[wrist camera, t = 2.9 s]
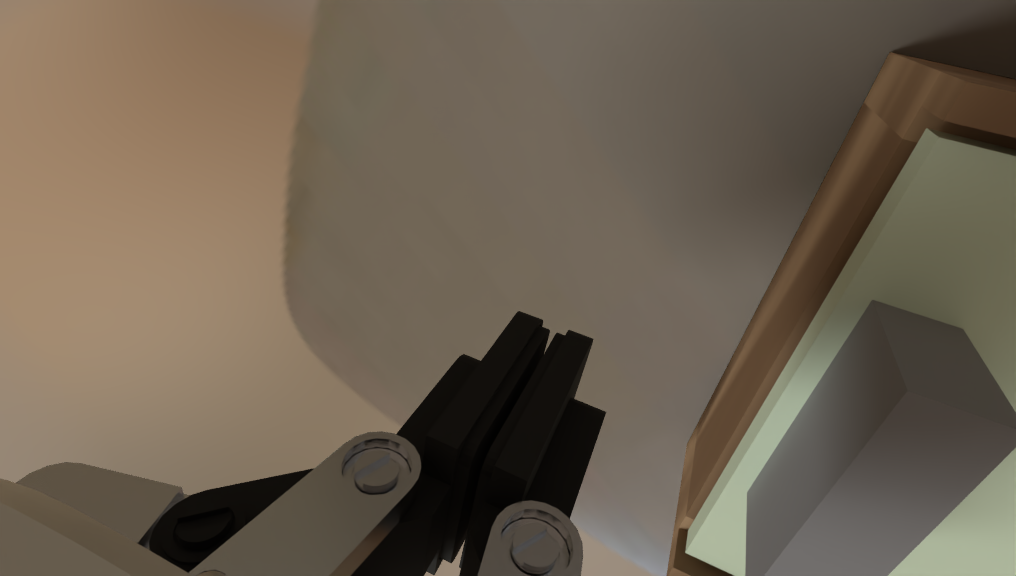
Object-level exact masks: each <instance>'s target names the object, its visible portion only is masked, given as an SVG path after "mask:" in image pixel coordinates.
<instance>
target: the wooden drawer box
mask: <svg viewBox="0 0 1016 576" xmlns="http://www.w3.org/2000/svg"><path fill="white" fill-rule="evenodd" d="M926 128H928V129H933V130H937V131H941V132H945V133H949V134H953V135H957V136H961V137H965V138H969V139H973V140H977V141H981V142H985V143H990V144H994V145H998V146H1002V147H1006V148H1010V149H1014V150H1016V79H1012V78H1007V77H1003V76H998V75H993V74H989V73H984V72H980V71H975V70H970V69H966V68H961V67H957V66H952V65H947V64H943V63H938V62H934V61H929V60H924V59H920V58H915V57H911V56H906V55H902V54H897V53H892V52H889V54H888V56H887V58H886V60H885V62H884V64H883V66H882V68H881V70H880V72H879V74H878V76H877V78H876V80H875V81H874V83H873V85H872V87H871V89H870V91H869V93H868V95H867V97H866V99H865V101H864V103H863V105H862V107H861V109H860V111H859V112H858V114H857V116H856V118H855V120H854V122H853V124H852V126H851V128H850V130H849V132H848V134H847V136H846V138H845V140H844V141H843V143H842V145H841V147H840V149H839V151H838V153H837V155H836V157H835V159H834V161H833V163H832V165H831V167H830V169H829V171H828V172H827V174H826V176H825V178H824V180H823V182H822V184H821V186H820V188H819V190H818V192H817V194H816V196H815V198H814V200H813V202H812V203H811V205H810V207H809V209H808V211H807V213H806V215H805V217H804V219H803V221H802V223H801V225H800V227H799V229H798V231H797V232H796V234H795V236H794V238H793V240H792V242H791V244H790V246H789V248H788V250H787V252H786V254H785V256H784V258H783V260H782V262H781V263H780V265H779V267H778V269H777V271H776V273H775V275H774V277H773V279H772V281H771V283H770V285H769V287H768V289H767V291H766V292H765V294H764V296H763V298H762V300H761V302H760V304H759V306H758V308H757V310H756V312H755V314H754V316H753V318H752V320H751V322H750V323H749V325H748V327H747V329H746V331H745V333H744V335H743V337H742V339H741V341H740V343H739V345H738V347H737V349H736V351H735V352H734V354H733V356H732V358H731V360H730V362H729V364H728V366H727V368H726V370H725V372H724V374H723V376H722V378H721V380H720V382H719V383H718V385H717V387H716V389H715V391H714V393H713V395H712V397H711V399H710V401H709V403H708V405H707V407H706V409H705V411H704V412H703V414H702V416H701V418H700V420H699V422H698V424H697V426H696V428H695V430H694V432H693V434H692V436H691V438H690V440H689V442H688V443H687V448H686V455H685V461H684V468H683V474H682V480H681V487H680V493H679V500H678V506H677V513H676V519H675V525H674V532H673V538H672V545H671V551H670V558H669V564H668V570H667V576H734V575H732V574H730V573H728V572H726V571H723V570H721V569H719V568H717V567H715V566H713V565H710V564H708V563H706V562H704V561H702V560H700V559H698V558H695V557H693V556H691V555H689V554H687V553H685V551H686V543H687V535H688V530H689V528H690V526H691V525H692V523H693V521H694V520H695V518H696V516H697V514H698V513H699V511H700V509H701V508H702V506H703V504H704V503H705V501H706V499H707V498H708V496H709V494H710V493H711V491H712V489H713V487H714V486H715V484H716V482H717V481H718V479H719V477H720V476H721V474H722V472H723V471H724V469H725V467H726V465H727V464H728V462H729V460H730V459H731V457H732V455H733V454H734V452H735V450H736V449H737V447H738V445H739V444H740V442H741V440H742V438H743V437H744V435H745V433H746V432H747V430H748V428H749V427H750V425H751V423H752V422H753V420H754V418H755V417H756V415H757V413H758V411H759V410H760V408H761V406H762V405H763V403H764V401H765V400H766V398H767V396H768V395H769V393H770V391H771V390H772V388H773V386H774V384H775V383H776V381H777V379H778V378H779V376H780V374H781V373H782V371H783V369H784V368H785V366H786V364H787V363H788V361H789V359H790V357H791V356H792V354H793V352H794V351H795V349H796V347H797V346H798V344H799V342H800V341H801V339H802V337H803V336H804V334H805V332H806V330H807V329H808V327H809V325H810V324H811V322H812V320H813V319H814V317H815V315H816V314H817V312H818V310H819V309H820V307H821V305H822V303H823V302H824V300H825V298H826V297H827V295H828V293H829V292H830V290H831V288H832V287H833V285H834V283H835V282H836V280H837V278H838V276H839V275H840V273H841V271H842V270H843V268H844V266H845V265H846V263H847V261H848V260H849V258H850V256H851V255H852V253H853V251H854V249H855V248H856V246H857V244H858V243H859V241H860V239H861V238H862V236H863V234H864V233H865V231H866V229H867V228H868V226H869V224H870V222H871V221H872V219H873V217H874V216H875V214H876V212H877V211H878V209H879V207H880V206H881V204H882V202H883V200H884V199H885V197H886V195H887V194H888V192H889V190H890V189H891V187H892V185H893V184H894V182H895V180H896V179H897V177H898V175H899V173H900V172H901V170H902V168H903V167H904V165H905V163H906V162H907V160H908V158H909V157H910V155H911V153H912V152H913V150H914V148H915V146H916V145H917V143H918V141H919V140H920V138H921V136H922V135H923V133H924V131H925V130H926Z"/></svg>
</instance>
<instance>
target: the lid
mask: <svg viewBox="0 0 1016 576" xmlns="http://www.w3.org/2000/svg"><path fill="white" fill-rule="evenodd" d="M685 553H687V554H689V555H691V556H693V557H695V558H698V559H700V560H702V561H704V562H706V563H708V564H710V565H713V566H715V567H717V568H719V569H721V570H723V571H726V572H728V573H730V574H732V575H734V576H1016V150H1014V149H1010V148H1006V147H1002V146H998V145H994V144H990V143H985V142H981V141H977V140H973V139H969V138H965V137H961V136H957V135H953V134H949V133H945V132H941V131H937V130H933V129H928V128H926V130H925V131H924V133H923V135H922V136H921V138H920V140H919V141H918V143H917V145H916V146H915V148H914V150H913V152H912V153H911V155H910V157H909V158H908V160H907V162H906V163H905V165H904V167H903V168H902V170H901V172H900V173H899V175H898V177H897V179H896V180H895V182H894V184H893V185H892V187H891V189H890V190H889V192H888V194H887V195H886V197H885V199H884V200H883V202H882V204H881V206H880V207H879V209H878V211H877V212H876V214H875V216H874V217H873V219H872V221H871V222H870V224H869V226H868V228H867V229H866V231H865V233H864V234H863V236H862V238H861V239H860V241H859V243H858V244H857V246H856V248H855V249H854V251H853V253H852V255H851V256H850V258H849V260H848V261H847V263H846V265H845V266H844V268H843V270H842V271H841V273H840V275H839V276H838V278H837V280H836V282H835V283H834V285H833V287H832V288H831V290H830V292H829V293H828V295H827V297H826V298H825V300H824V302H823V303H822V305H821V307H820V309H819V310H818V312H817V314H816V315H815V317H814V319H813V320H812V322H811V324H810V325H809V327H808V329H807V330H806V332H805V334H804V336H803V337H802V339H801V341H800V342H799V344H798V346H797V347H796V349H795V351H794V352H793V354H792V356H791V357H790V359H789V361H788V363H787V364H786V366H785V368H784V369H783V371H782V373H781V374H780V376H779V378H778V379H777V381H776V383H775V384H774V386H773V388H772V390H771V391H770V393H769V395H768V396H767V398H766V400H765V401H764V403H763V405H762V406H761V408H760V410H759V411H758V413H757V415H756V417H755V418H754V420H753V422H752V423H751V425H750V427H749V428H748V430H747V432H746V433H745V435H744V437H743V438H742V440H741V442H740V444H739V445H738V447H737V449H736V450H735V452H734V454H733V455H732V457H731V459H730V460H729V462H728V464H727V465H726V467H725V469H724V471H723V472H722V474H721V476H720V477H719V479H718V481H717V482H716V484H715V486H714V487H713V489H712V491H711V493H710V494H709V496H708V498H707V499H706V501H705V503H704V504H703V506H702V508H701V509H700V511H699V513H698V514H697V516H696V518H695V520H694V521H693V523H692V525H691V526H690V528H689V530H688V535H687V543H686V551H685Z"/></svg>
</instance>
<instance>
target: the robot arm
mask: <svg viewBox="0 0 1016 576" xmlns="http://www.w3.org/2000/svg"><path fill="white" fill-rule="evenodd" d="M542 325H543V320H542V319H539V318H536V317H534V316H531V315H528V314H526V313H523V312H520V311H518V312H517V313H516V315H515V316H514V317H513V319H512V320H511V321H510V323H509V324H508V325H507V327H506V328H505V329H504V331H503V332H502V333H501V335H500V336H499V337H498V339H497V340H496V342H495V343H494V344H493V346H492V347H491V348H490V350H489V351H488V352H487V354H486V355H485V356H484V358H483V359H482V360H481V361H480V360H477V359H475V358H472V357H470V356H467V355H465V354H463V355H461V356H460V357H459V358H458V359H457V360H456V361H455V362H454V364H453V365H452V366H451V367H450V369H449V370H448V371H447V372H446V373H445V375H444V376H443V377H442V378H441V380H440V381H439V382H438V383H437V385H436V386H435V387H434V388H433V389H432V391H431V392H430V393H429V394H428V396H427V397H426V398H425V399H424V401H423V402H422V403H421V404H420V406H419V407H418V408H417V409H416V410H415V412H414V413H413V414H412V415H411V417H410V418H409V419H408V420H407V422H406V423H405V424H404V425H403V426H402V428H401V429H400V430H399V431H398V433H397V434H393V433H388V432H368V433H365V434H362V435H359V436H356V437H354V438H352V439H351V440H349V441H348V442H346V443H345V444H343V445H342V446H341V447H340V448H338V450H336V451H335V452H334V453H332V454H331V455H330V456H329V457H328V458H326V459H325V460H324V461H323V462H322V463H321V464H319V465H318V466H317V467H316V468H314V469H309V470H304V471H299V472H294V473H289V474H284V475H279V476H274V477H269V478H264V479H260V480H255V481H249V482H245V483H240V484H235V485H230V486H225V487H220V488H215V489H210V490H206V491H203V492H200V493H197V494H193V495H187V494H183V490H182V487H178V486H174V485H170V484H166V483H161V482H157V481H153V480H149V479H145V478H141V477H137V476H132V475H128V474H124V473H119V472H116V471H111V470H107V469H103V468H99V467H95V466H90V465H86V464H82V463H69V462H64V463H59V464H54V465H49V466H46V467H44V468H41V469H39V470H36V471H34V472H32V473H29V474H28V475H26V476H25V477H24V478H22V479H21V480H19V481H18V482H16V483H14V482H11V481H8V480H4V479H0V576H424V574H425V573H426V571H427V572H429V573H431V574H433V575H435V573H436V571H437V569H438V568H439V566H440V564H441V562H442V560H443V559H444V560H446V561H448V562H450V563H452V562H453V561H454V559H455V557H456V556H457V554H458V552H459V550H460V548H461V546H462V544H463V542H464V540H465V543H464V548H463V552H462V557H461V561H460V565H459V567H460V568H461V571H460V575H459V576H581V569H582V560H583V547H582V541H581V538H580V536H579V533H578V530H577V528H576V527H575V526H574V524H573V523H572V522H571V520H570V516H571V513H572V510H573V507H574V504H575V501H576V498H577V496H578V493H579V490H580V487H581V484H582V481H583V478H584V475H585V472H586V469H587V466H588V464H589V461H590V458H591V455H592V452H593V449H594V446H595V443H596V440H597V437H598V434H599V432H600V429H601V426H602V423H603V420H604V417H605V414H606V412H605V411H602V410H600V409H598V408H595V407H593V406H590V405H588V404H585V403H583V402H580V401H578V400H575V399H574V397H575V394H576V391H577V388H578V385H579V382H580V379H581V376H582V373H583V370H584V367H585V364H586V361H587V358H588V355H589V352H590V349H591V346H592V342H593V339H592V338H589V337H587V336H584V335H581V334H579V333H576V332H573V331H571V330H568V332H567V333H566V335H562V334H559V333H556V335H555V336H554V338H553V340H552V341H551V343H550V345H549V347H548V348H547V350H546V352H545V348H546V344H547V341H548V337H549V333H550V330H549V329H546V328H544V327H542ZM544 352H545V354H544ZM465 538H466V539H465Z"/></svg>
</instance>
